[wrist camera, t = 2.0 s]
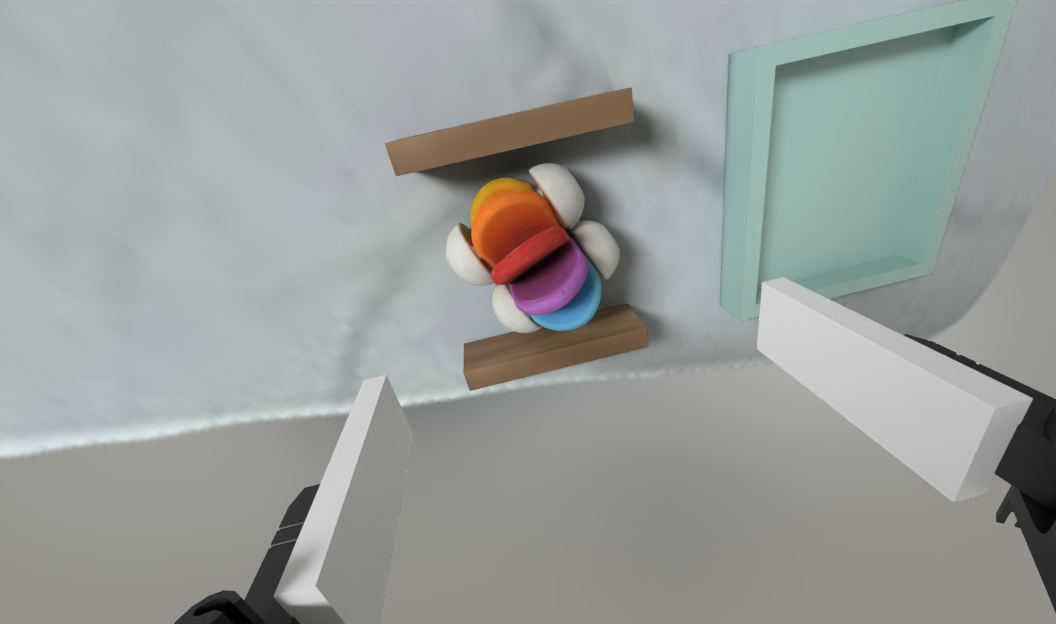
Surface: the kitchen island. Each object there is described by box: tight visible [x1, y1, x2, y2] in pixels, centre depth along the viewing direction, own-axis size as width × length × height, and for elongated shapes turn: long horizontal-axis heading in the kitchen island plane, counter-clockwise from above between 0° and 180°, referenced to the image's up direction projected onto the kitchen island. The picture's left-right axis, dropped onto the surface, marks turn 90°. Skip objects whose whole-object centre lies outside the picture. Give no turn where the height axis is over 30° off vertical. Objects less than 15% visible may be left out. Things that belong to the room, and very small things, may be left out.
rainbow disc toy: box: [446, 163, 620, 333], centre depth 22 cm, size 8×10×7 cm
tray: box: [720, 0, 1017, 321], centre depth 24 cm, size 16×14×2 cm
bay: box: [385, 87, 649, 391], centre depth 23 cm, size 15×12×4 cm
